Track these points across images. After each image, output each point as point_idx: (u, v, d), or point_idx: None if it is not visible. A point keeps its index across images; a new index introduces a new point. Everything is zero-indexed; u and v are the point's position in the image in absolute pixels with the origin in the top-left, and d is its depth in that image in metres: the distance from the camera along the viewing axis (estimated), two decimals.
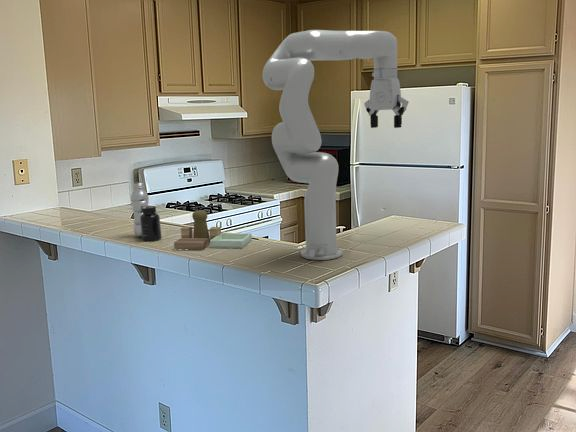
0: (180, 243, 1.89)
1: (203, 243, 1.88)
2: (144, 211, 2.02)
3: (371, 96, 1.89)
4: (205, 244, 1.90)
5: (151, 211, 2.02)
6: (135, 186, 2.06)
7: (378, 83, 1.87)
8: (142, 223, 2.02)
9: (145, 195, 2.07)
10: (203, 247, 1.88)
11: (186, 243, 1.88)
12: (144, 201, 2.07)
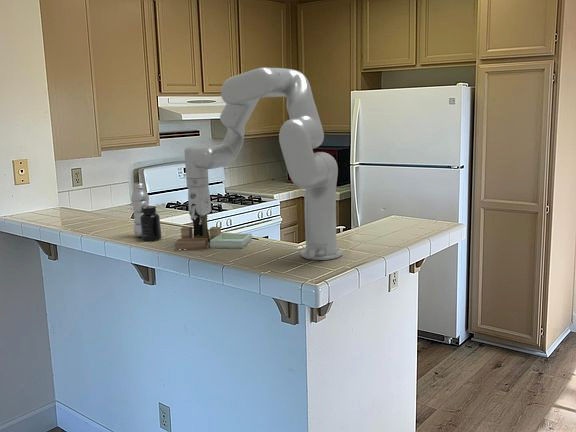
0: (181, 243, 1.88)
1: (205, 242, 1.89)
2: (144, 211, 2.02)
3: (202, 203, 1.93)
4: (206, 243, 1.91)
5: (151, 211, 2.02)
6: (136, 186, 2.06)
7: (204, 190, 1.95)
8: (142, 223, 2.02)
9: (145, 195, 2.07)
10: (205, 247, 1.89)
11: (187, 243, 1.88)
12: (144, 201, 2.07)
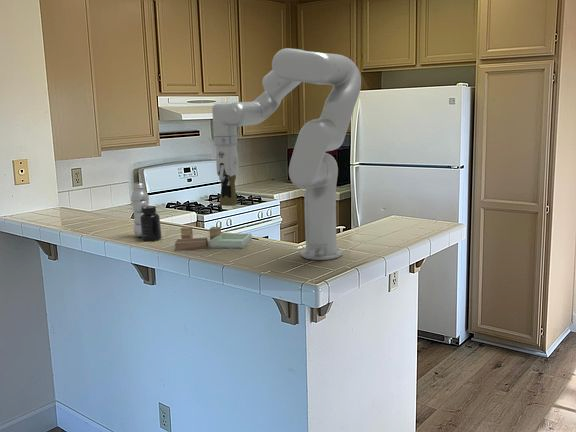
0: (182, 243, 1.88)
1: (205, 242, 1.89)
2: (144, 211, 2.02)
3: (230, 163, 1.85)
4: (206, 243, 1.91)
5: (151, 211, 2.02)
6: (135, 186, 2.06)
7: (233, 150, 1.87)
8: (142, 223, 2.02)
9: (145, 195, 2.07)
10: (206, 247, 1.89)
11: (188, 243, 1.88)
12: (144, 201, 2.07)
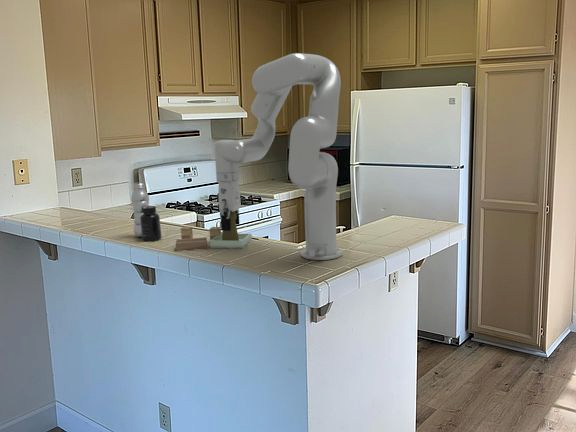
0: (182, 244, 1.88)
1: (206, 242, 1.89)
2: (144, 211, 2.02)
3: (232, 198, 1.87)
4: None
5: (151, 211, 2.02)
6: (136, 186, 2.06)
7: (235, 185, 1.89)
8: (142, 223, 2.02)
9: (145, 195, 2.07)
10: (206, 246, 1.90)
11: (189, 243, 1.88)
12: (144, 201, 2.07)
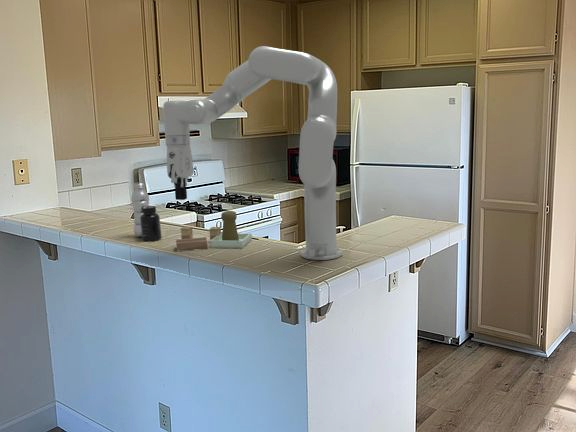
0: (183, 244, 1.87)
1: (206, 241, 1.90)
2: (144, 211, 2.02)
3: (181, 164, 1.74)
4: None
5: (151, 211, 2.02)
6: (136, 186, 2.06)
7: (185, 150, 1.76)
8: (142, 223, 2.02)
9: (145, 195, 2.07)
10: None
11: (190, 243, 1.88)
12: (144, 201, 2.07)
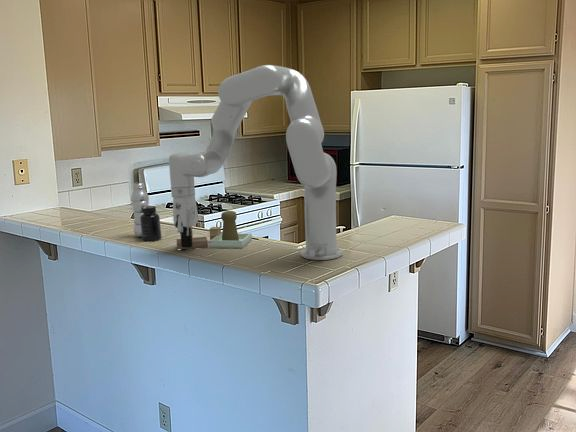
0: None
1: None
2: (144, 211, 2.02)
3: (187, 214, 1.81)
4: None
5: (151, 211, 2.02)
6: (135, 186, 2.06)
7: (190, 200, 1.83)
8: (142, 223, 2.02)
9: (145, 195, 2.07)
10: (207, 245, 1.91)
11: None
12: (144, 201, 2.07)
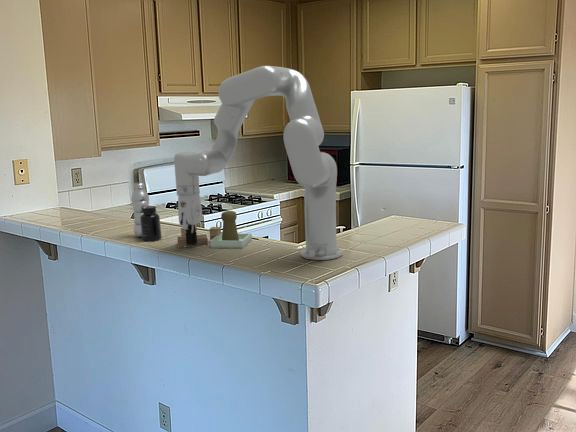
0: (184, 240, 1.92)
1: None
2: (144, 211, 2.02)
3: (192, 212, 1.85)
4: None
5: (151, 211, 2.02)
6: (136, 186, 2.06)
7: (195, 198, 1.87)
8: (142, 223, 2.02)
9: (145, 195, 2.07)
10: (207, 242, 1.95)
11: None
12: (144, 201, 2.07)
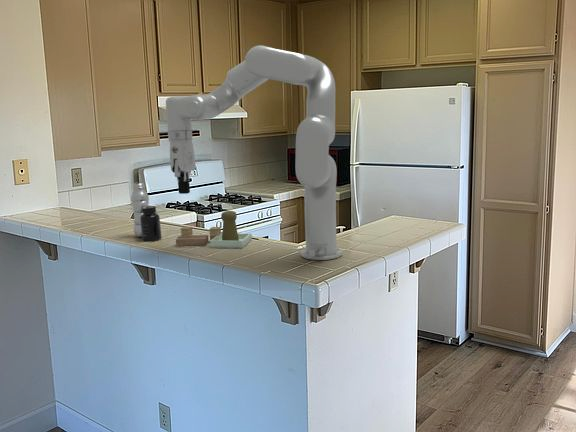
0: (182, 240, 1.93)
1: (205, 239, 1.94)
2: (144, 211, 2.02)
3: (184, 158, 1.78)
4: (206, 240, 1.96)
5: (151, 211, 2.02)
6: (135, 186, 2.06)
7: (187, 145, 1.80)
8: (142, 223, 2.02)
9: (145, 195, 2.07)
10: (205, 243, 1.94)
11: (188, 240, 1.93)
12: (144, 201, 2.07)
